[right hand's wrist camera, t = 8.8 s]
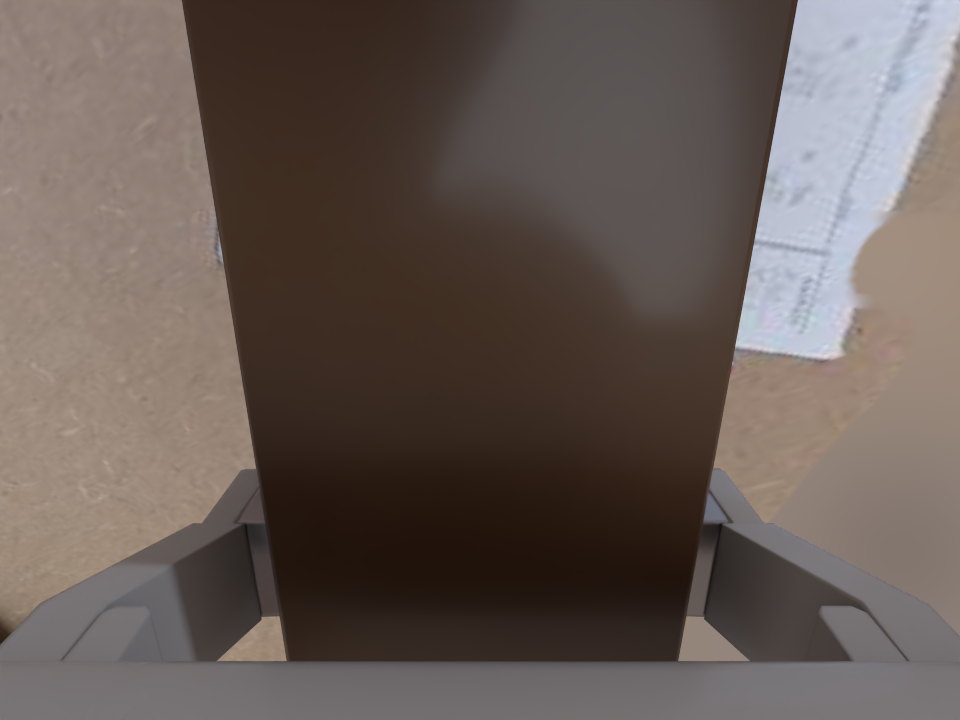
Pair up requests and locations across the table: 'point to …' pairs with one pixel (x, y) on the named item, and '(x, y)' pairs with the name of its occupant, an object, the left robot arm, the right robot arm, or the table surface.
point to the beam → (486, 305)
